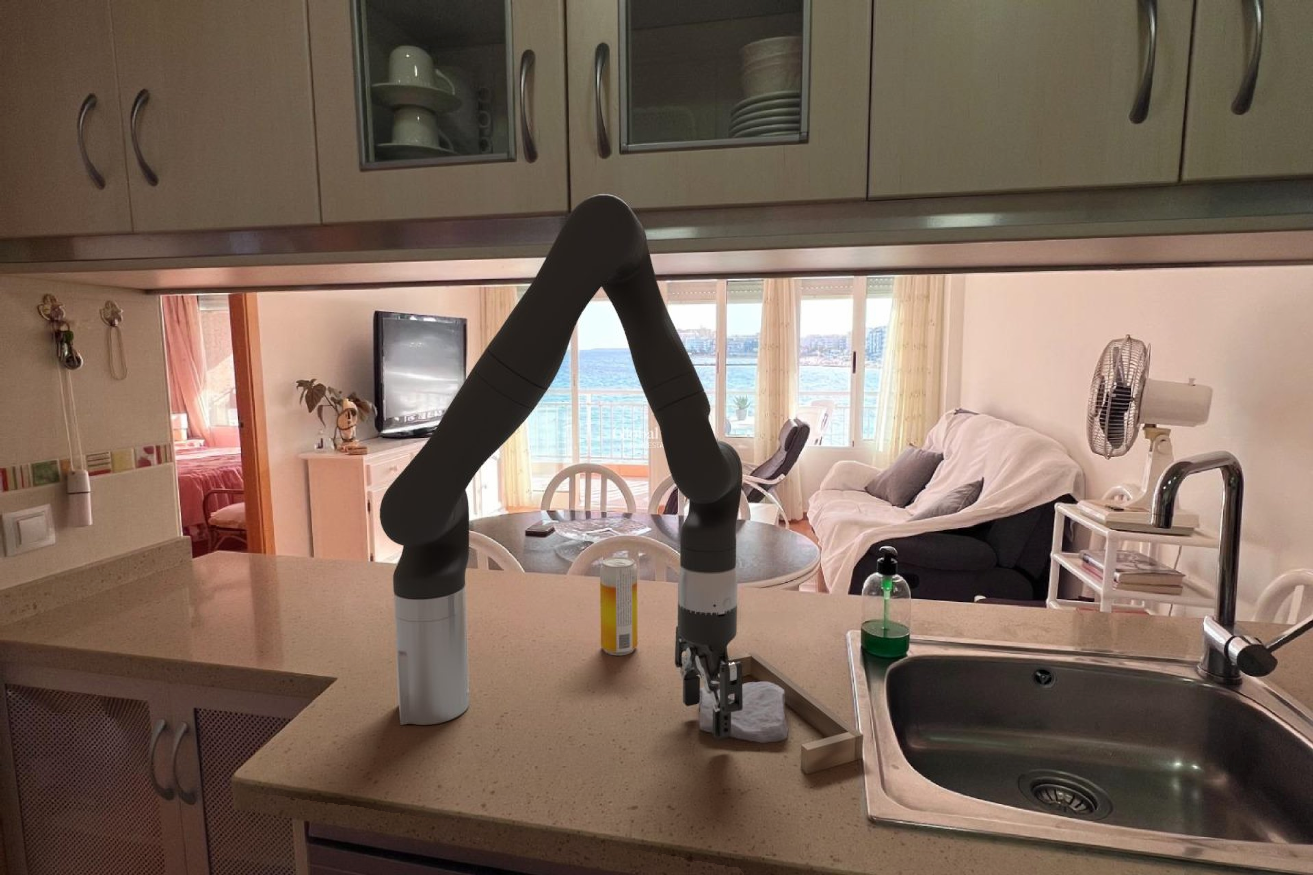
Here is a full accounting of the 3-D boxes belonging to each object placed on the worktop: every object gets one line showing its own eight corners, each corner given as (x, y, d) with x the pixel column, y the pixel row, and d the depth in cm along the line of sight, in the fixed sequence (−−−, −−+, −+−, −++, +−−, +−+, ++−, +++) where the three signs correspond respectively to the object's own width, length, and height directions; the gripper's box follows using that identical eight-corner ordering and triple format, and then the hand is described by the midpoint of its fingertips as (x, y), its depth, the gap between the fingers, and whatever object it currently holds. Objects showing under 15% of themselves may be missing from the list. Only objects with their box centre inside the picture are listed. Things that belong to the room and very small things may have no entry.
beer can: (627, 638, 116) (627, 554, 114) (643, 652, 111) (643, 563, 109) (595, 645, 113) (594, 559, 112) (610, 659, 108) (609, 569, 106)
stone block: (791, 757, 85) (784, 703, 94) (791, 727, 83) (784, 674, 93) (697, 755, 86) (699, 702, 95) (695, 725, 85) (698, 673, 94)
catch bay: (806, 774, 78) (807, 749, 78) (707, 679, 101) (707, 660, 101) (862, 757, 81) (863, 734, 81) (753, 669, 104) (753, 651, 104)
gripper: (658, 585, 90) (657, 699, 92) (706, 624, 77) (705, 756, 79) (707, 578, 93) (706, 689, 95) (762, 614, 80) (760, 742, 82)
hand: (705, 719), depth 87 cm, fingers open, 8 cm apart
